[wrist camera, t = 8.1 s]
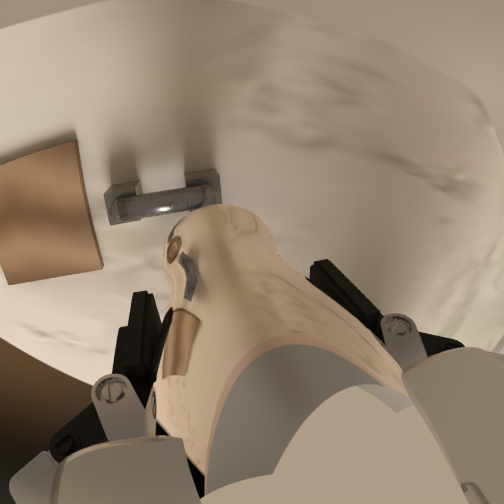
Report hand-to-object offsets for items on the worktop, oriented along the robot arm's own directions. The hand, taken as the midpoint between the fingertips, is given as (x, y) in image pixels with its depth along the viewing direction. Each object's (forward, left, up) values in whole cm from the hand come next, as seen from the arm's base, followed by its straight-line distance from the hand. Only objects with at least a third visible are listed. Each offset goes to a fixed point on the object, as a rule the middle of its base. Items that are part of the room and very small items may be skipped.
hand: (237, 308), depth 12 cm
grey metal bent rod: (-3, +3, -14) cm, 14 cm away
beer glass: (0, 0, -5) cm, 5 cm away
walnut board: (+2, +15, -14) cm, 20 cm away
